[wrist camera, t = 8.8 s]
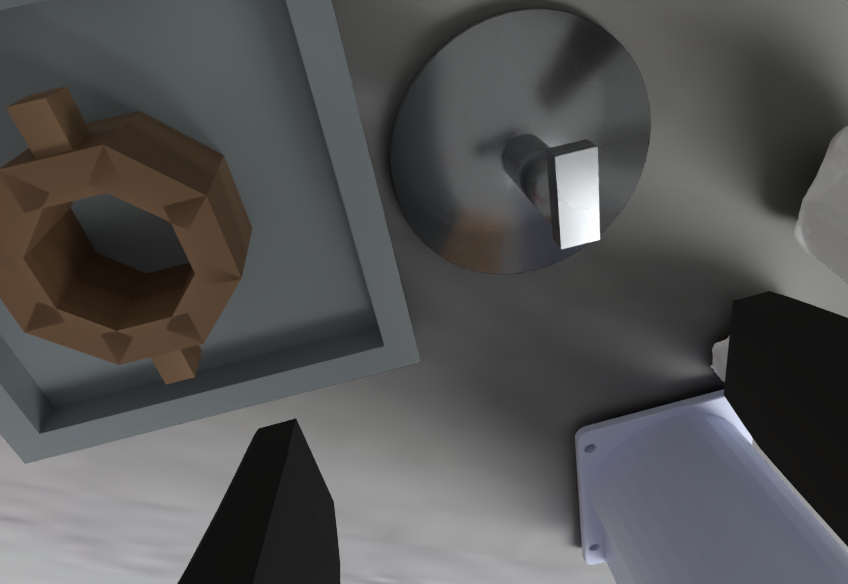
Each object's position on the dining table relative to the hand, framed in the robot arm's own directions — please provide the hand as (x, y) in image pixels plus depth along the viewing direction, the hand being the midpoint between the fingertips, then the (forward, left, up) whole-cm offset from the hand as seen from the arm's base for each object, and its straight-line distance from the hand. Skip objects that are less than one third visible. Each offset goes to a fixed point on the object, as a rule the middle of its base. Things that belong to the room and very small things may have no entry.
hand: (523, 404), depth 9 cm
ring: (+2, +8, -9) cm, 12 cm away
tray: (+1, +8, -10) cm, 13 cm away
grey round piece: (0, -3, -10) cm, 10 cm away
